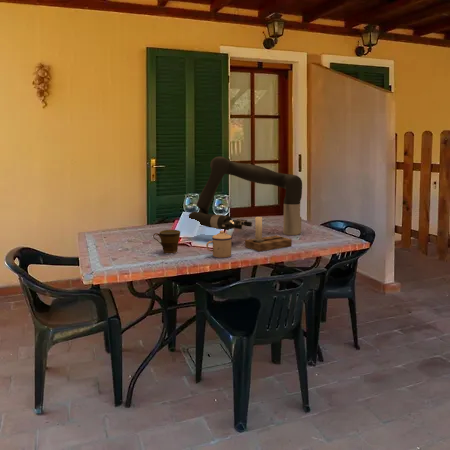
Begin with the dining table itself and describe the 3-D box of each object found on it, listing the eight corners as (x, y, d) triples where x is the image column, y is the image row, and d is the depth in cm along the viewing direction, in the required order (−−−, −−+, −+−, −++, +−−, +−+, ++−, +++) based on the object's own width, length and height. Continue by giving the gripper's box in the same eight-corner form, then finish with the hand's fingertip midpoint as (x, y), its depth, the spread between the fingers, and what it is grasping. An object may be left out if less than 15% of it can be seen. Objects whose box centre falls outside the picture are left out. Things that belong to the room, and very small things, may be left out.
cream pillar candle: (259, 244, 231) (259, 216, 229) (264, 245, 228) (264, 217, 225) (252, 245, 229) (253, 217, 227) (257, 246, 226) (257, 218, 223)
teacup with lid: (228, 252, 221) (228, 228, 219) (234, 257, 212) (234, 232, 210) (204, 254, 217) (203, 230, 215) (209, 259, 209) (208, 234, 207)
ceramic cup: (181, 249, 228) (180, 229, 226) (180, 254, 218) (179, 233, 216) (155, 249, 227) (154, 229, 226) (152, 254, 218) (151, 234, 216)
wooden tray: (276, 241, 242) (276, 235, 241) (291, 246, 232) (291, 239, 231) (245, 246, 232) (245, 239, 231) (259, 251, 222) (259, 244, 221)
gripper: (212, 216, 235) (238, 220, 225) (229, 213, 246) (254, 216, 236) (212, 231, 236) (238, 235, 226) (229, 227, 247) (254, 230, 237)
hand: (246, 225), depth 231 cm, fingers open, 8 cm apart
